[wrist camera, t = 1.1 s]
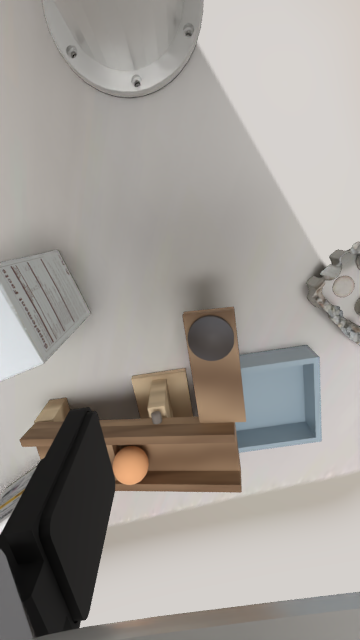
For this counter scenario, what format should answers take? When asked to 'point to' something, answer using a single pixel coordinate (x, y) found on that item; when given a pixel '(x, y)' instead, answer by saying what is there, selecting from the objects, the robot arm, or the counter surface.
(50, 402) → the block
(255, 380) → the dish
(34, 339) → the supplement box
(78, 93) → the counter surface
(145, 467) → the ball
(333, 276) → the egg carton
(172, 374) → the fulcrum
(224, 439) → the lever
